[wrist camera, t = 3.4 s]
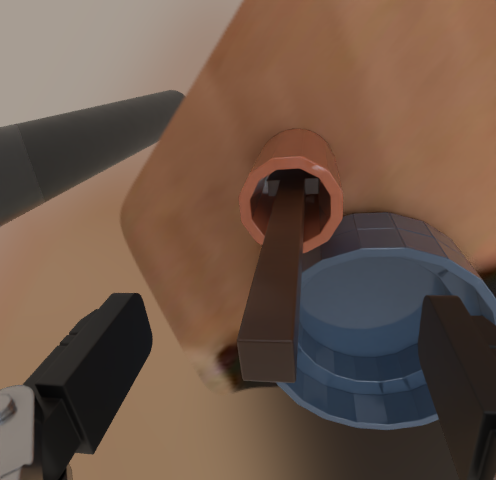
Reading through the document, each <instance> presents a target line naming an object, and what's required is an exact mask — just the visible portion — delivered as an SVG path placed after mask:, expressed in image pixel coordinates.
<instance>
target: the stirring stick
mask: <svg viewBox="0 0 496 480" xmlns="http://www.w3.org/2000/svg"><path fill="white" fill-rule="evenodd" d="M267 183H268V195H269V196H276V197H275V200H274V204H273V208H272V211H271V215H270V219H269V223H268V226H267V230H266V234H265V237H264V241H263V245H262V248H261V252H260V256H259V260H258V263H257V267H256V271H255V274H254V278H253V282H252V286H251V289H250V293H249V297H248V300H247V304H246V308H245V312H244V315H243V319H242V323H241V326H240V330H239V334H238V337H237V345H238V352H239V359H240V365H241V372H242V378H243V380H245V381H263V382H283V383H295V381H296V373H297V353H298V334H299V315H300V295H301V276H302V257H303V237H304V218H305V199H306V195H307V194H319V178H318V177H316V176H313V175H311V174H309V173H307V172H305V171H303V170H301V169H283V170H276V171H274V172H273V173H271V174H270V175H269V178H268V181H267Z"/></svg>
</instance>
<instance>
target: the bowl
mask: <svg viewBox="0 0 496 480" xmlns="http://www.w3.org/2000/svg"><path fill="white" fill-rule="evenodd" d="M426 295H454V296H458V297H459V298H460V299H461V301H462V302H463V304H464V306H465V307H466V309H467V311H468V312H469V314H470V316H484V317H485V318H486V319H488V320H489V321H490V322H492V323H493V324H494V325H496V297H495V296H494V295H493V293H492V292H491V291H490V289H489V288H488V287H487V285H486V284H485V283H484V281H483V280H482V279H481V277H480V276H479V275H478V273H477V272H476V271H475V269H474V268H473V267H472V266H471V264H470V263H469V262H468V260H467V259H466V258H465V256H464V255H463V254H462V252H461V251H460V250H459V249H458V247H457V246H456V245H455V243H454V242H453V241H452V240H451V239H450V238H449V237H447V236H446V235H444V234H443V233H441V232H440V231H438V230H436V229H435V228H433V227H432V226H430V225H429V224H427V223H425V222H424V221H420V220H416V219H413V218H409V217H405V216H401V215H397V214H393V213H388V212H383V213H355V214H350V215H347V216H344V217H343V219H342V221H341V222H340V224H339V225H338V227H337V229H336V230H335V232H334V233H333V235H332V236H331V238H330V239H329V240H328V241H327V242H325V243H323V244H321V245H320V246H318V247H316V248H314V249H312V250H310V251H308V252H305V253H303V257H302V276H301V295H300V315H299V334H298V353H297V373H296V381H295V383H283V382H276V383H277V385H278V386H279V387H280V388H281V389H282V390H283V391H285V392H286V393H287V394H288V395H289V396H290V397H291V398H292V399H293V400H294V401H295V402H296V403H297V404H298V405H300V406H302V407H304V408H305V409H307V410H309V411H311V412H313V413H315V414H316V415H318V416H320V417H322V418H324V419H327V420H331V421H334V422H338V423H341V424H344V425H348V426H352V427H356V428H366V429H367V428H368V429H381V430H392V429H399V428H406V427H414V426H421V425H425V424H428V423H431V422H433V421H436V420H439V418H438V415H437V412H436V409H435V406H434V404H433V401H432V398H431V395H430V392H429V389H428V386H427V383H426V380H425V377H424V374H423V371H422V368H421V365H420V361H419V355H418V337H419V329H420V320H421V312H422V304H423V299H424V297H425V296H426Z"/></svg>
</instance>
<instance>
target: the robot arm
mask: <svg viewBox="0 0 496 480" xmlns="http://www.w3.org/2000/svg"><path fill="white" fill-rule="evenodd" d="M151 348H152V332H151V328H150V324H149V321H148V317H147V313H146V310H145V306H144V302H143V299H142V297H141V295H140V294H138V293H113V294H111V295H110V296H109V298H108V299H107V300H106V301H105V302H104V303H103V305H102V306H101V307H100V308H99V309H96V310H94V311H93V312H91V313H90V314H89V315H87V316H86V317H84V318H83V319H81V320H80V321H79V322H78V323H77V324H76V326H75V327H74V328H73V329H72V330H71V331H70V332H69V335H67V336H66V337H65V338H64V339H63V340H62V341H61V342H60V346H57V347H56V348H55V349H54V350H53V351H52V352H51V354H50V355H49V356H48V357H47V358H46V359H45V360H44V361H43V362H42V364H41V365H40V366H39V367H38V368H37V369H36V371H34V373H33V374H32V375H31V376H30V377H29V378H28V379H27V380H26V382H25V383H24V384H23V385H15V386H11V387H7V388H4V389H1V390H0V480H73V478H72V469H71V467H70V465H69V462H70V460H71V459H72V457H73V455H74V453H84V454H94V453H95V451H96V449H97V447H98V445H99V444H100V442H101V440H102V438H103V436H104V435H105V433H106V431H107V429H108V428H109V426H110V424H111V422H112V420H113V418H114V416H115V415H116V413H117V411H118V410H119V408H120V406H121V404H122V402H123V401H124V399H125V397H126V395H127V393H128V392H129V390H130V388H131V386H132V384H133V383H134V381H135V379H136V377H137V376H138V374H139V372H140V370H141V368H142V367H143V365H144V363H145V361H146V359H147V357H148V356H149V354H150V351H151ZM418 355H419V361H420V365H421V368H422V371H423V374H424V377H425V380H426V383H427V386H428V389H429V392H430V395H431V398H432V401H433V404H434V406H435V409H436V412H437V415H438V418H439V421H440V424H441V427H442V430H443V432H444V436H445V439H446V442H447V444H448V447H449V450H450V453H451V456H452V459H453V462H454V465H455V467H456V471H457V474H458V477H459V479H460V480H496V325H494V324H493V323H492V322H490V321H489V320H488V319H486V318H485V317H484V316H470V314H469V312H468V311H467V309H466V307H465V306H464V304H463V302H462V301H461V299H460V298H459V297H458V296H454V295H426V296H425V297H424V299H423V304H422V312H421V320H420V329H419V337H418Z"/></svg>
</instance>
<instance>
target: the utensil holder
mask: <svg viewBox="0 0 496 480" xmlns="http://www.w3.org/2000/svg"><path fill="white" fill-rule="evenodd" d="M283 169H301V170H303V171H305V172H307V173H309V174H311V175H313V176H316V177H318V178H319V194H307V195H306V199H305V218H304V237H303V253H305V252H308V251H310V250H312V249H314V248H316V247H318V246H320V245H321V244H323V243H325V242H327V241H328V240H329V239H330V238H331V236H332V235H333V233H334V232H335V230H336V229H337V227H338V225H339V224H340V222H341V221H342V219H343V191H342V186H341V182H340V178H339V173H338V169H337V164H336V160H335V156H334V154H333V153H332V150H331V149H330V147H329V145H328V144H327V142H326V141H325V140H324V139H323V138H322V137H321V136H319V135H318V134H316V133H314V132H312V131H309V130H305V129H289V130H286V131H283V132H281V133H279V134H277V135H275V136H274V137H273V138H272V139H271V140H270V141H268V142H267V143H266V144H265V146H264V148H263V150H262V151H261V153H260V155H259V157H258V159H257V160H256V162H255V164H254V166H253V168H252V170H251V171H250V173H249V175H248V177H247V179H246V182H245V184H244V186H243V188H242V190H241V192H240V195H239V207H240V215H241V221H242V224H243V225H244V226H245V228H246V229H247V230H248V232H249V233H250V234H251V236H252V237H253V238H254V240H255V241H256V242H257V243H259V244H261V245H263V241H264V237H265V234H266V230H267V226H268V223H269V219H270V215H271V211H272V208H273V204H274V200H275V197H276V196H269V195H268V183H267V181H268V178H269V175H270V174H271V173H273V172H274V171H276V170H283Z"/></svg>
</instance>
